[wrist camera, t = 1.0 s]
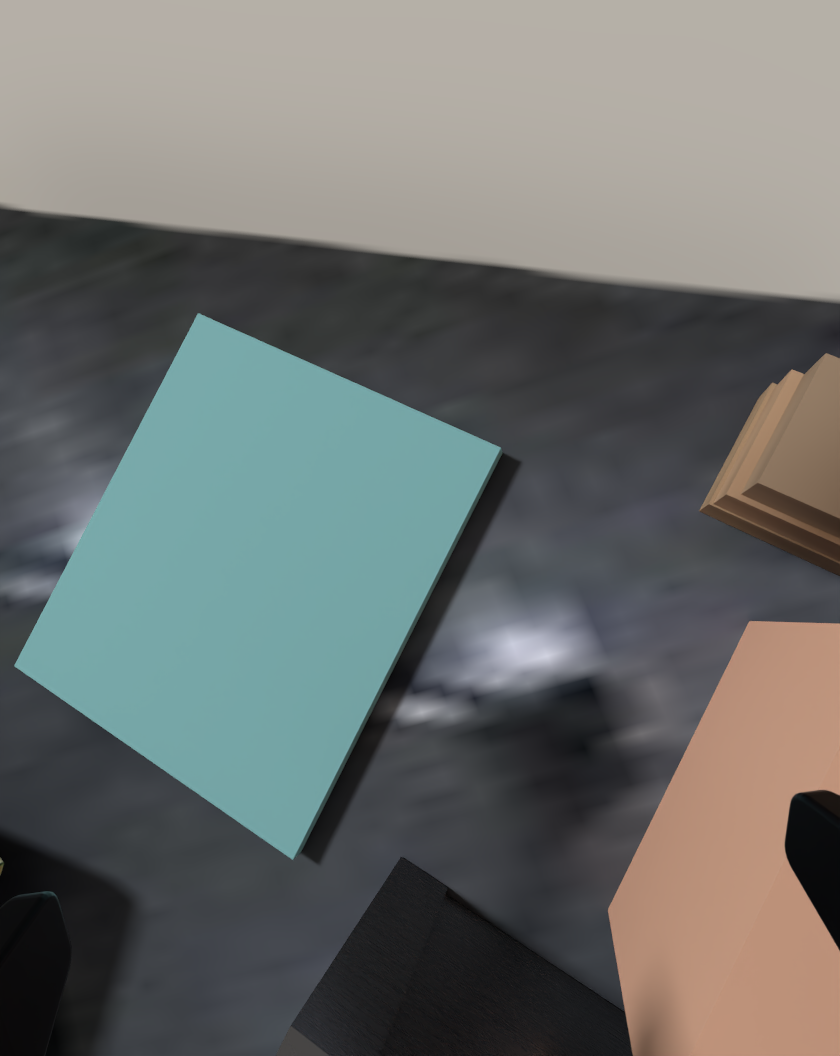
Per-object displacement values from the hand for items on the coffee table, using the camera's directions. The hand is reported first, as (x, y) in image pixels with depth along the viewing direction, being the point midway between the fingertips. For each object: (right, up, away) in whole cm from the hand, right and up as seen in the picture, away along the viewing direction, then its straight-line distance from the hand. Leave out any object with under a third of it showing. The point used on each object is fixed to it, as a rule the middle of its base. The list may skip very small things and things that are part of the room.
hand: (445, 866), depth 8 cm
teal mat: (-6, +3, +13) cm, 15 cm away
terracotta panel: (+8, -3, +10) cm, 13 cm away
